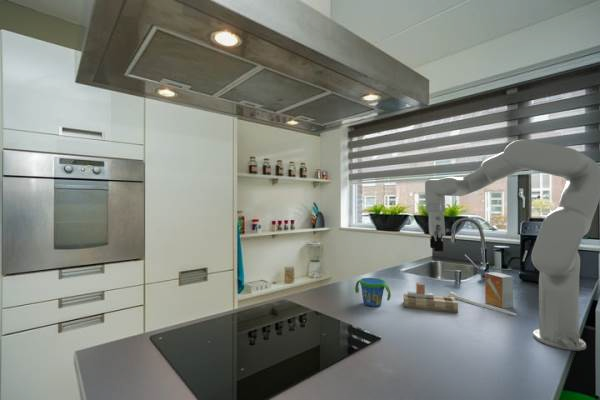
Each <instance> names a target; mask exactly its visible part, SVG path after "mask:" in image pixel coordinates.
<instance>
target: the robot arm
mask: <svg viewBox="0 0 600 400" xmlns="http://www.w3.org/2000/svg"><path fill="white" fill-rule="evenodd" d="M524 170H530V171H535V172H539V173H544V174H548V175H552V176H556V177H558V178H559V177H560V178H564V180H565V186H564V188H563V190H562V192H561V195H560V199H559V202H558V204H557V206H556V209H554V210H552V211H551V212H549V213H548V214H547V215H546V216H545V218H544V219H543V221H542V223H541V226H540V227H539V232H538V234H537V237H536V240H535V242H534V245H533V248H532V251H531V256H530V257H531V262H532V264H533V267H534V268H536V269H537V271H538V272H539V274H538V275H539V276H538V277H539V278H538V329H535V330H533V331H532V336H533V337H534V339H535V340H537V341H538V342H541V343H543V344H545V345H547V346H550V347H553V348H557V349H562V350H565V351H566V350H568V351H584V350H586V349H587V343H586V342H585V341H584V340H583V339H582V338H580V272H581V255H580V253H579V247H580V245H581V243H582V241H583V237H584V236H585V235H587V234H588V233H589V231H590V229H591V226H592V222H593V218H594V217H595V213H596V211H597V207H598V205H599V202H600V165H599V164H598V163H597V162H596V161H595V160H594V159H592V158H591V157H589V156H587V155H586V154H584V153H582V152H580V151H578V150H577V149H575V148H572V147H568V146H561V145H555V144H549V143H543V142H538V141H532V140H528V139H518V140H517V139H516V140H514V141H512V142H510V143H509V144H508V145H507V146H505V148H504V151H502V152H499V153H498V154H496V155H494V156H492V157H489V158H487V159H485V160H483V161H482V162H481V164H480V166H479V168H477V169H475V170H474V171H473V172H471V173H468V174H466V175H464V176H462V177H459V176H458V177H455V176H448V177H442V178H432V179H426V181H425V183H424V193H425V194H424V197H425V200H424V201H425V213H428V232H429V233H428V234H429V236H430V238H429V242H430V247H429V248H431V249H433V250H434V252H444V240H443V237H445V236H446V225H445V224H446V223H445V222H446V221H445V215H444V213H445V212H446V197H445V196H447V197H449V196H451V197H462V196H466V195H469V194H472V193H474V192H477V191H479V190H481V189H483V188H486V187H487V186H489V185H492V184H494V183H495V182H497V181H501V179H505V178H507V177H510V176H512V175H514V174H518V173H519V172H522V171H524Z"/></svg>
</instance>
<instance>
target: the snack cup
mask: <svg viewBox="0 0 600 400" xmlns="http://www.w3.org/2000/svg"><path fill="white" fill-rule="evenodd" d="M359 284H360V288H361V296H362V302H363V305H365V306H369V307H373V308H374V307H380V306H381V305H382V301H383V296H384V289H385V290H386V291H387V298H386V300H387V301H390V299H391V296H392V295H391V290H390V287H389V285H388V284H386V281H385V280H383V279H382V278H377V277H376V278H375V277H362V278H361V279H359V280H358V281H356V284H355V288H354V289H355V290H354V291H355V293H356V294H359V292H360V290H359V289H360V288H359Z"/></svg>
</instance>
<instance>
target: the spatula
mask: <svg viewBox="0 0 600 400" xmlns="http://www.w3.org/2000/svg"><path fill="white" fill-rule="evenodd" d="M447 297H454V298H455V299H456V300H459V301H462V302H463V303H464V302H465V303H467V302H468V303H467V304H470V303H471V304H470V305H475V306H477V307H480V306H481V308H484V307H485V308H484V309H488V308H489V309H488V310H491V309H492V311H495V310H496V311H495V312H499V313H502V312H503V314H507V315H509V314H510V315H511V316H513V317H517V316H518V315H517V313H515V312H512V311H510V310H507V309H505V308H504V309H502V308H499V307H497V306H494V305H491V304H486V303H482V302H478V301H475V300H472V299H470V298H467V297H464V296H461V295H458V294H457V293H455V292H454V291H450V292H449V293H447Z"/></svg>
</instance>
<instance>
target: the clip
mask: <svg viewBox="0 0 600 400" xmlns="http://www.w3.org/2000/svg"><path fill="white" fill-rule="evenodd" d="M415 285H416V287H415V291H407V294H408V297H411V298H414V297H416V298H427V299H434V296H435V295H434V293H433V292H426V289H425V287H426V285H425V283H424V282H416V283H415Z"/></svg>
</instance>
